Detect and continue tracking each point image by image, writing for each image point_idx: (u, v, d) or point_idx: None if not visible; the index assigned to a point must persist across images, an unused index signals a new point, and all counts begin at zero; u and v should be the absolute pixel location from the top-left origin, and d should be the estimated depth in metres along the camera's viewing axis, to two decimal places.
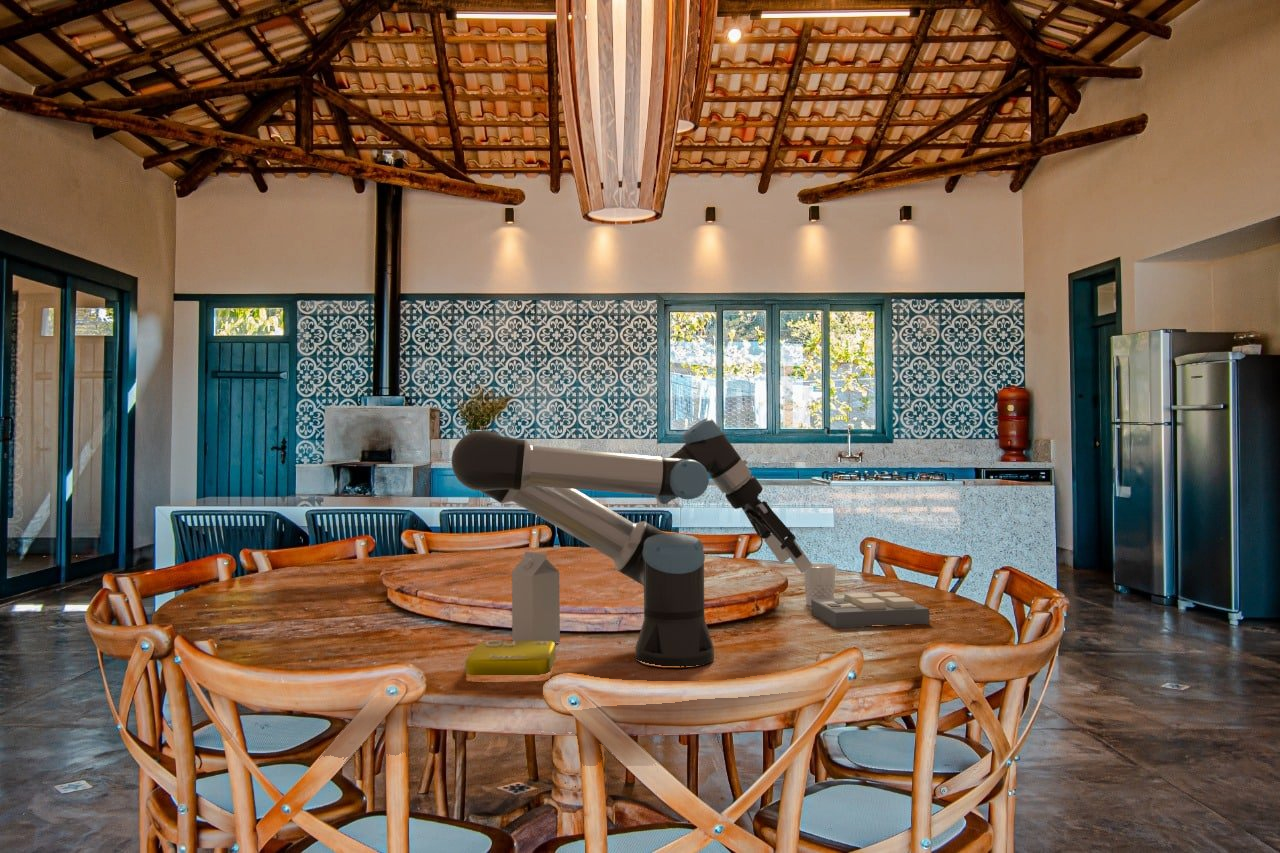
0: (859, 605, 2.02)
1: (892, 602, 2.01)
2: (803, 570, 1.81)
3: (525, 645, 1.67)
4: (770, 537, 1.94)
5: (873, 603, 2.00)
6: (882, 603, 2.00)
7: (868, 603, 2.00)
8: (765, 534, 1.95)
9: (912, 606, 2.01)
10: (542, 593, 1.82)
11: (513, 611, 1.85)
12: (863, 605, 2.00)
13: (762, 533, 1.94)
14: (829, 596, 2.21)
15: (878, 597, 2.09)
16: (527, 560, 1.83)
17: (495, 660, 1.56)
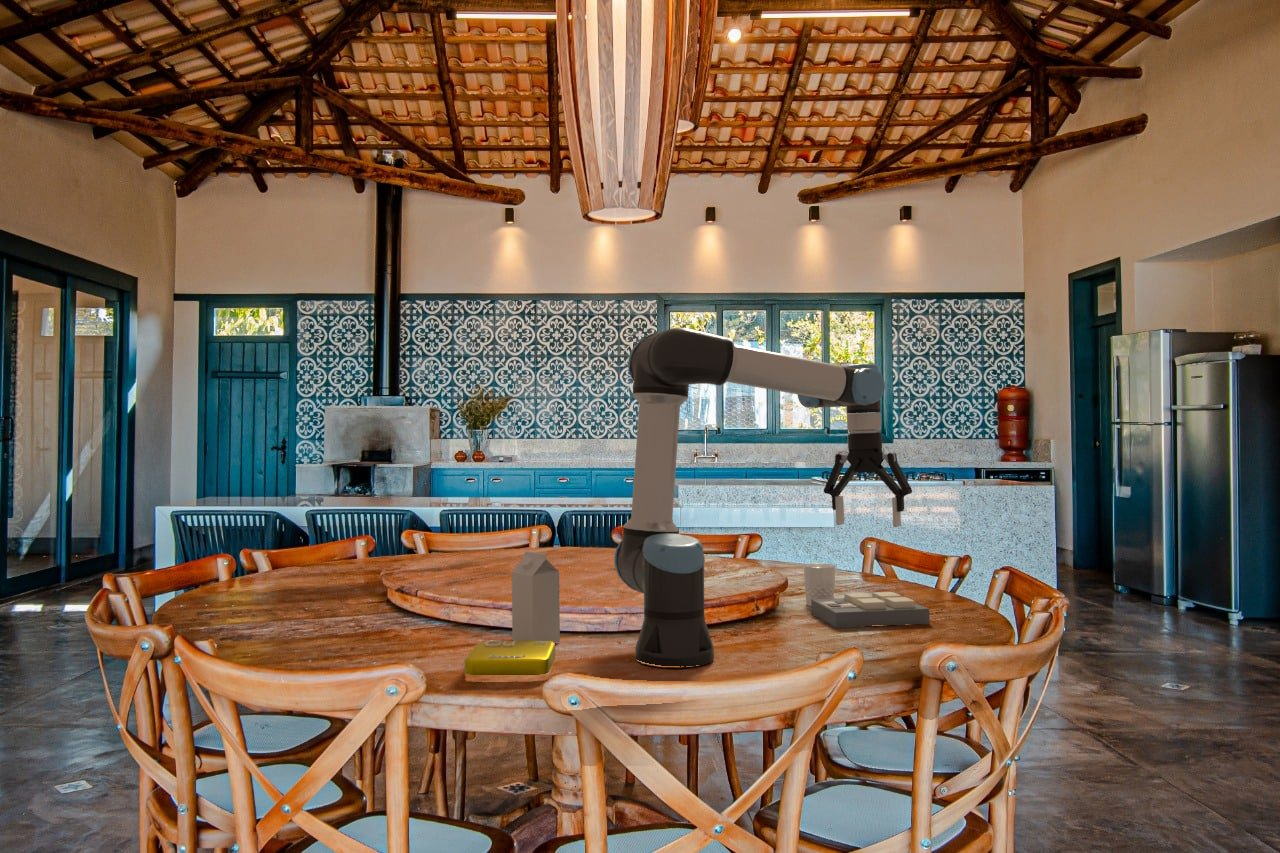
0: (859, 605, 2.02)
1: (892, 602, 2.01)
2: (897, 525, 1.97)
3: (524, 645, 1.67)
4: (840, 497, 2.06)
5: (873, 603, 2.00)
6: (882, 603, 2.00)
7: (868, 603, 2.00)
8: (837, 493, 2.06)
9: (912, 606, 2.01)
10: (542, 593, 1.82)
11: (513, 611, 1.85)
12: (863, 605, 2.00)
13: (839, 489, 2.05)
14: (829, 596, 2.21)
15: (878, 597, 2.09)
16: (527, 560, 1.83)
17: (494, 660, 1.56)
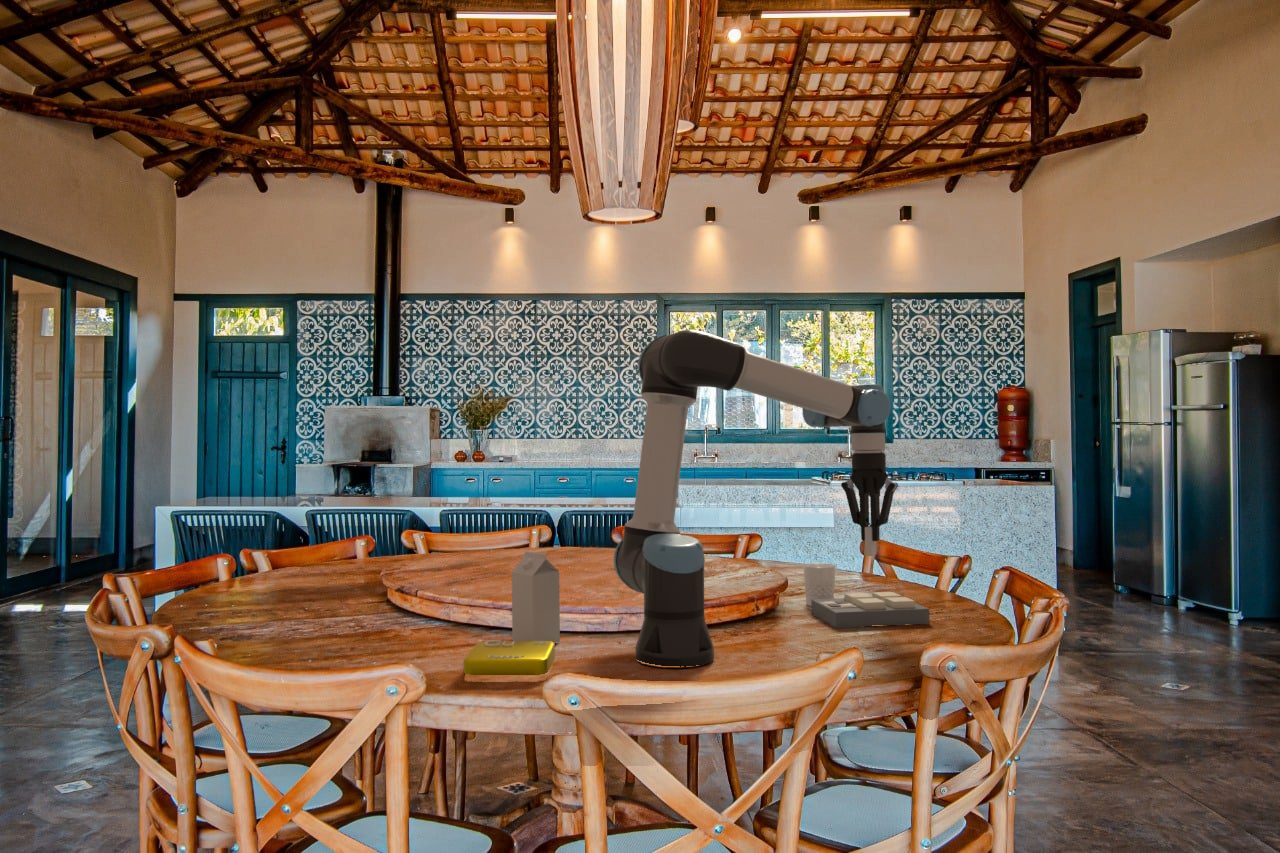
0: (859, 605, 2.02)
1: (892, 602, 2.01)
2: (872, 554, 2.01)
3: (524, 645, 1.67)
4: None
5: (873, 603, 2.00)
6: (882, 603, 2.00)
7: (868, 603, 2.00)
8: (865, 521, 2.03)
9: (912, 606, 2.01)
10: (542, 593, 1.82)
11: (513, 611, 1.85)
12: (863, 605, 2.00)
13: (865, 516, 2.02)
14: (829, 596, 2.21)
15: (878, 597, 2.09)
16: (527, 560, 1.83)
17: (493, 660, 1.56)
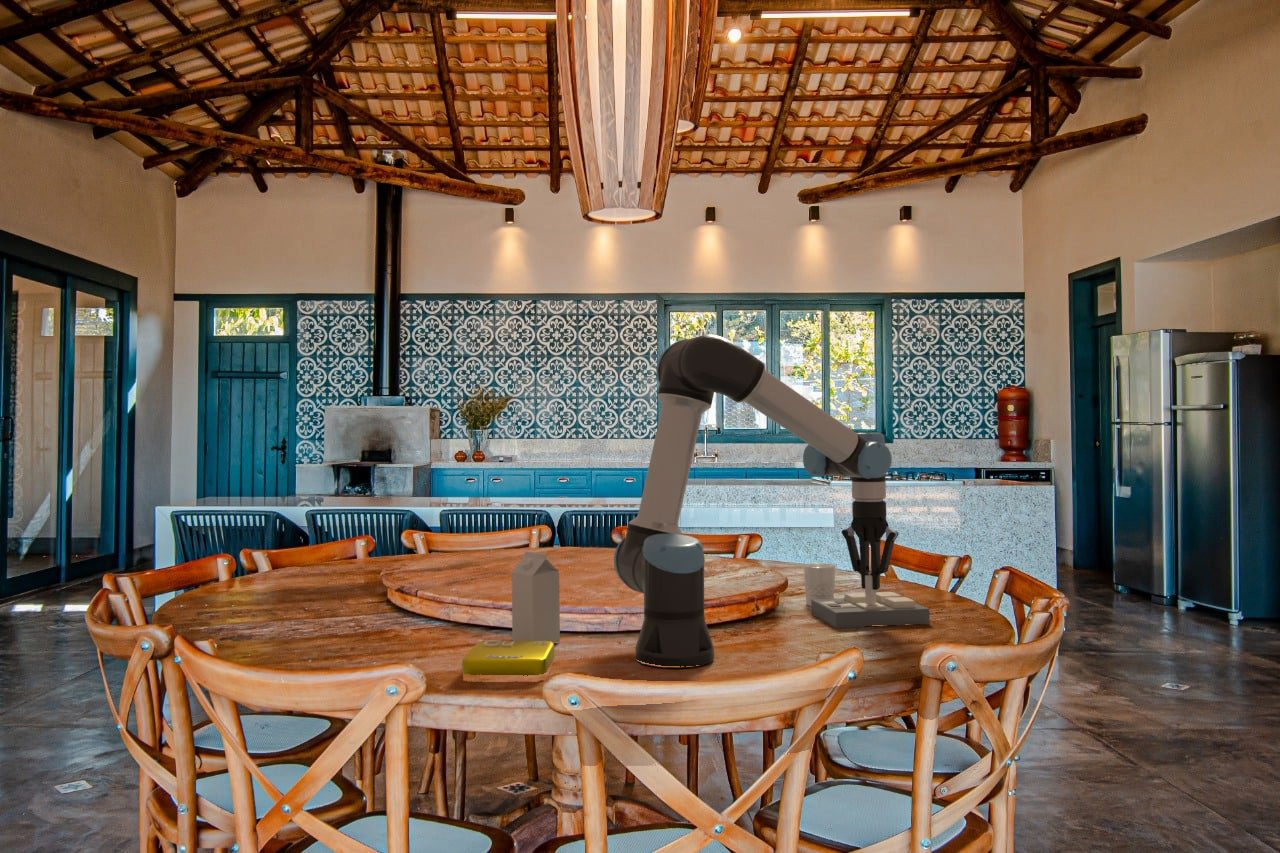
0: None
1: (892, 602, 2.01)
2: (872, 603, 2.01)
3: (523, 645, 1.67)
4: (870, 576, 2.02)
5: (873, 607, 2.00)
6: (882, 607, 2.00)
7: (868, 607, 2.00)
8: (866, 570, 2.03)
9: (912, 606, 2.01)
10: (542, 593, 1.82)
11: (513, 611, 1.85)
12: None
13: (865, 564, 2.02)
14: (829, 596, 2.21)
15: (878, 597, 2.09)
16: (527, 560, 1.83)
17: (491, 660, 1.56)
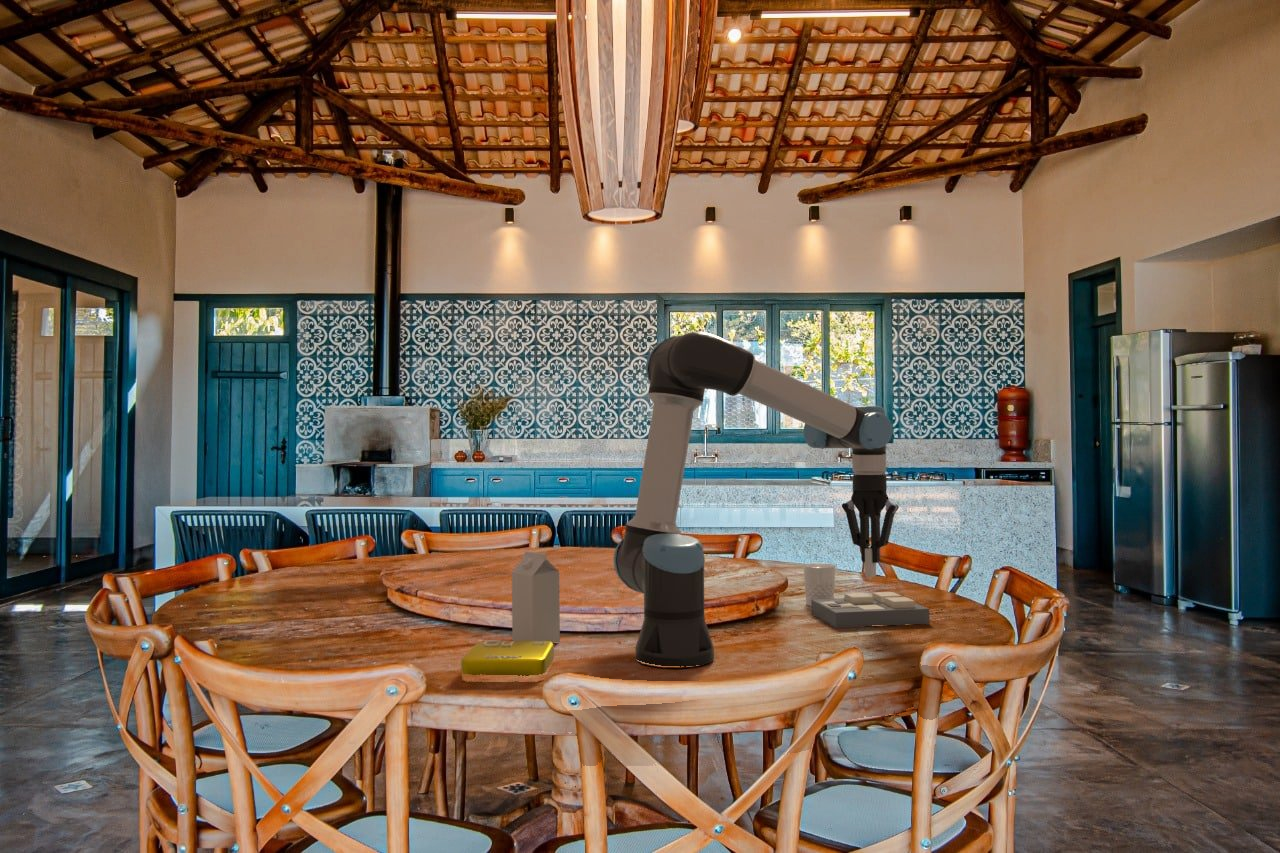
0: None
1: (892, 602, 2.01)
2: (872, 576, 2.01)
3: (523, 645, 1.66)
4: None
5: None
6: None
7: None
8: (865, 543, 2.03)
9: (912, 606, 2.01)
10: (542, 593, 1.82)
11: (513, 611, 1.85)
12: None
13: (865, 537, 2.02)
14: (829, 596, 2.21)
15: (878, 597, 2.09)
16: (527, 560, 1.83)
17: (490, 660, 1.56)
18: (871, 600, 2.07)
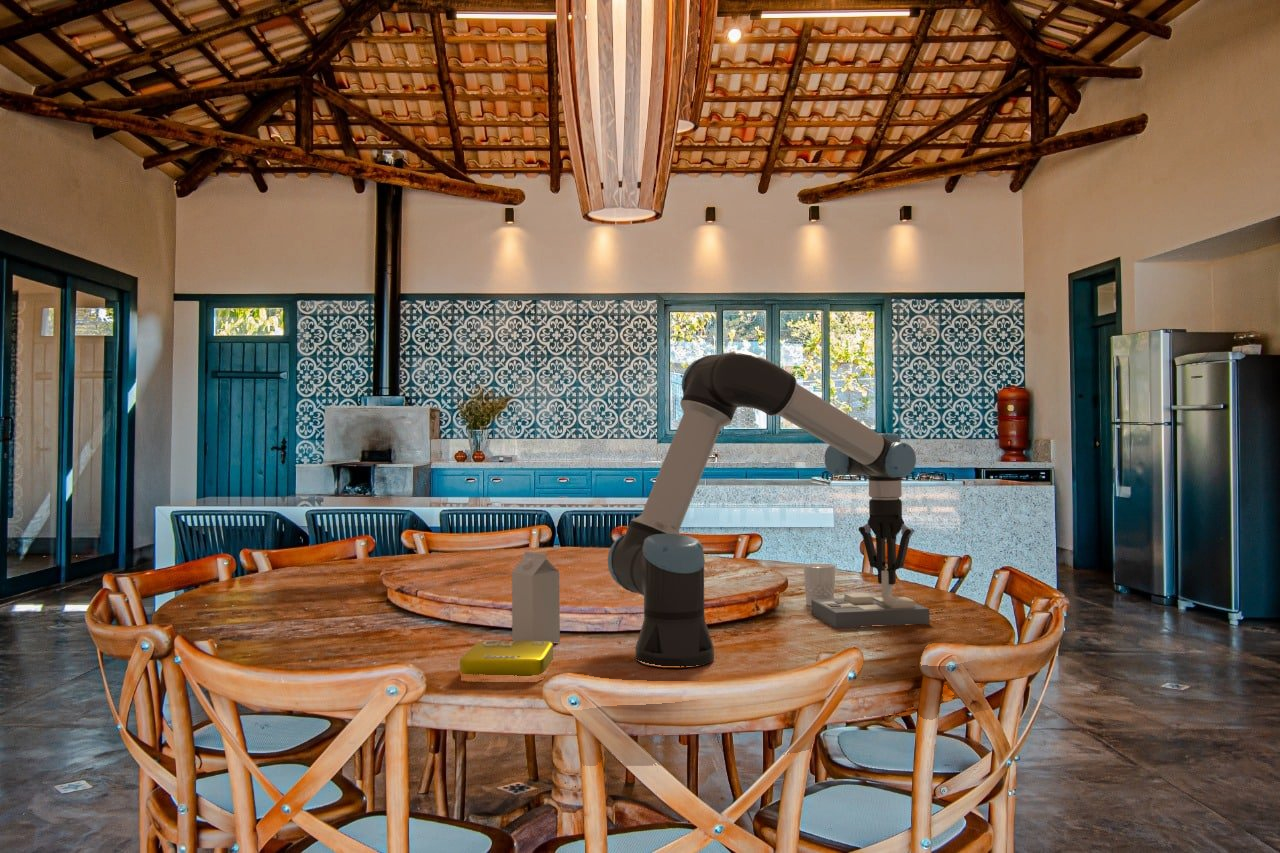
0: None
1: (892, 602, 2.01)
2: (888, 597, 2.09)
3: (522, 645, 1.66)
4: None
5: None
6: None
7: None
8: None
9: (912, 606, 2.01)
10: (542, 593, 1.82)
11: (513, 611, 1.85)
12: None
13: (882, 560, 2.10)
14: (829, 596, 2.21)
15: None
16: (527, 560, 1.83)
17: (488, 660, 1.56)
18: (871, 600, 2.07)
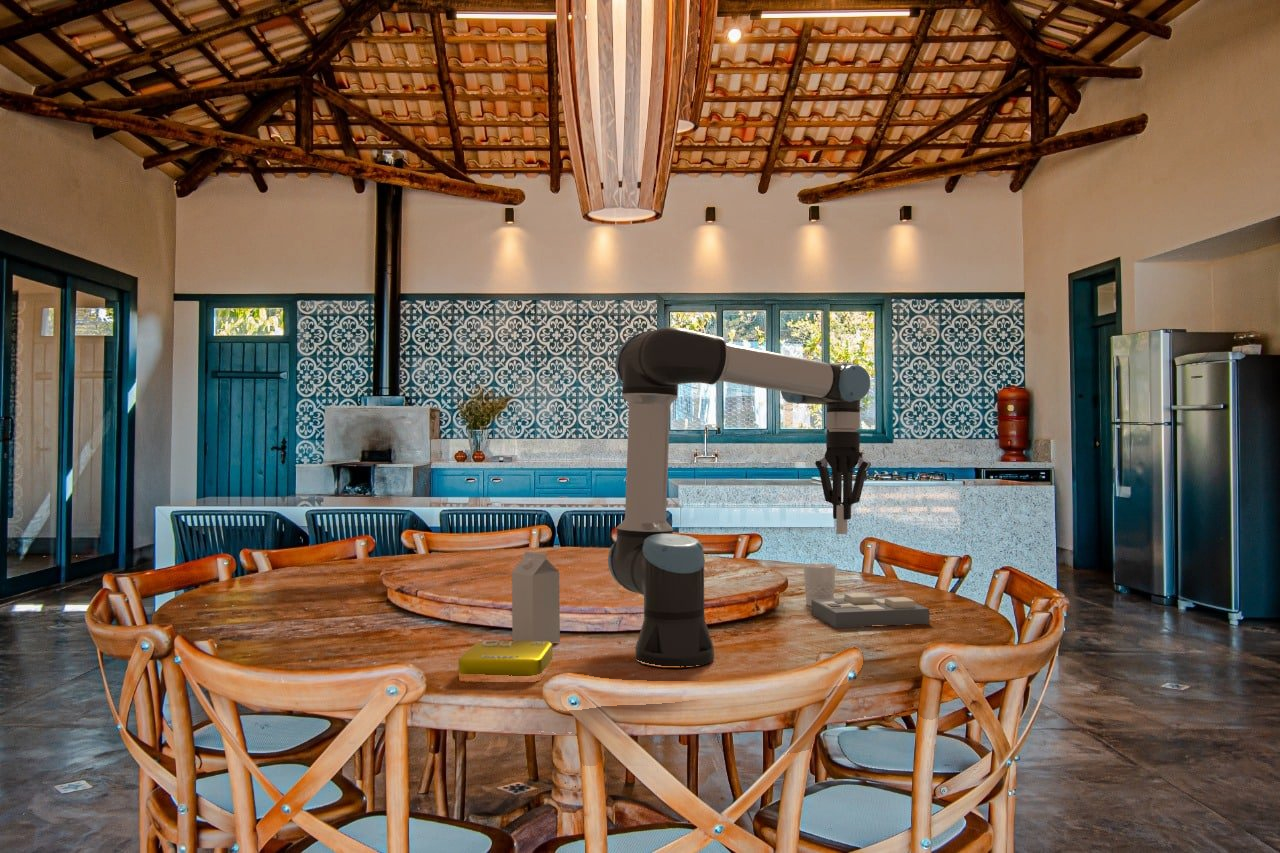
0: None
1: (892, 602, 2.01)
2: (843, 532, 2.03)
3: (521, 645, 1.66)
4: None
5: None
6: None
7: None
8: (837, 500, 2.04)
9: (912, 606, 2.01)
10: (542, 593, 1.82)
11: (513, 611, 1.85)
12: None
13: (837, 494, 2.04)
14: (829, 596, 2.21)
15: None
16: (527, 560, 1.83)
17: (486, 660, 1.56)
18: (871, 600, 2.07)
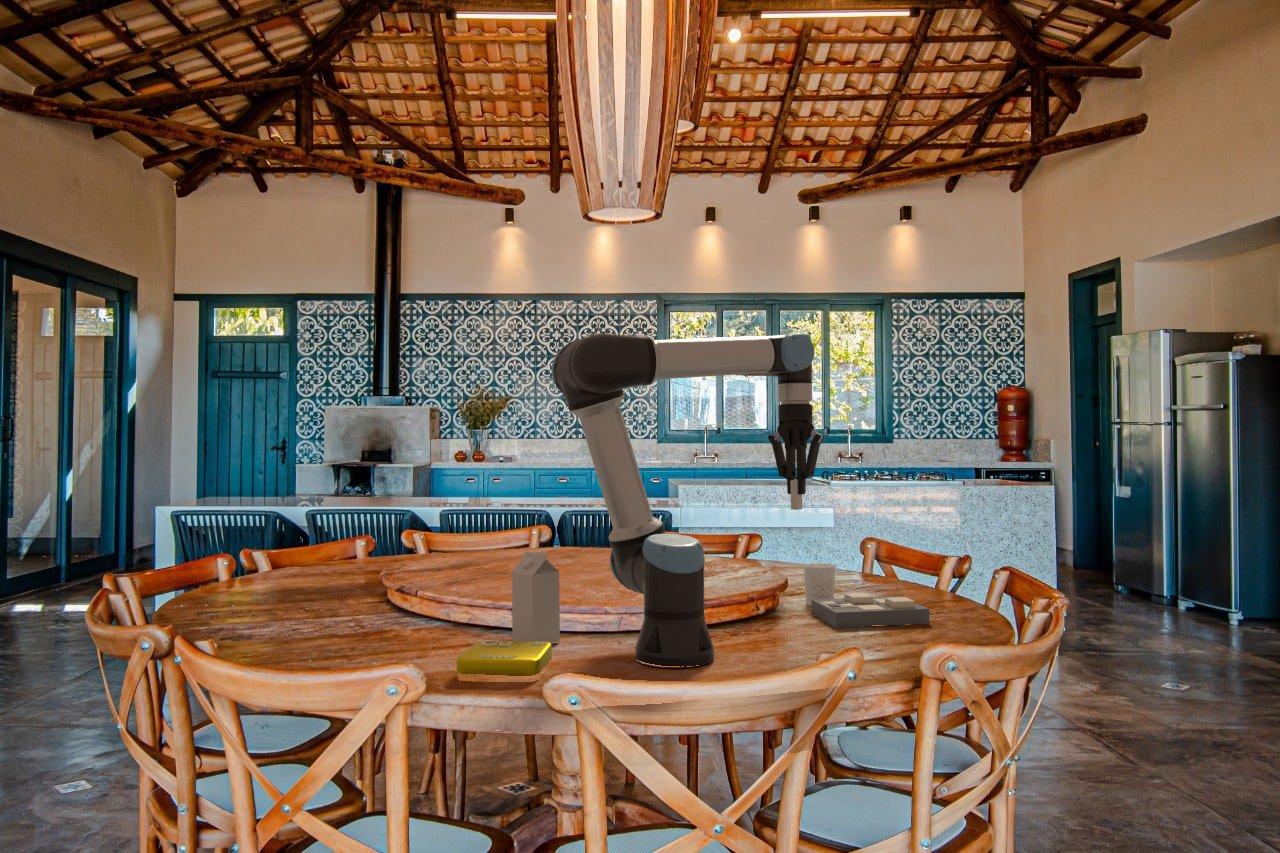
0: None
1: (892, 602, 2.01)
2: (797, 508, 1.96)
3: (520, 645, 1.66)
4: None
5: None
6: None
7: None
8: (791, 475, 1.98)
9: (912, 606, 2.01)
10: (542, 593, 1.82)
11: (513, 611, 1.85)
12: None
13: (791, 469, 1.97)
14: (829, 596, 2.21)
15: None
16: (527, 560, 1.83)
17: (484, 660, 1.56)
18: (871, 600, 2.07)
